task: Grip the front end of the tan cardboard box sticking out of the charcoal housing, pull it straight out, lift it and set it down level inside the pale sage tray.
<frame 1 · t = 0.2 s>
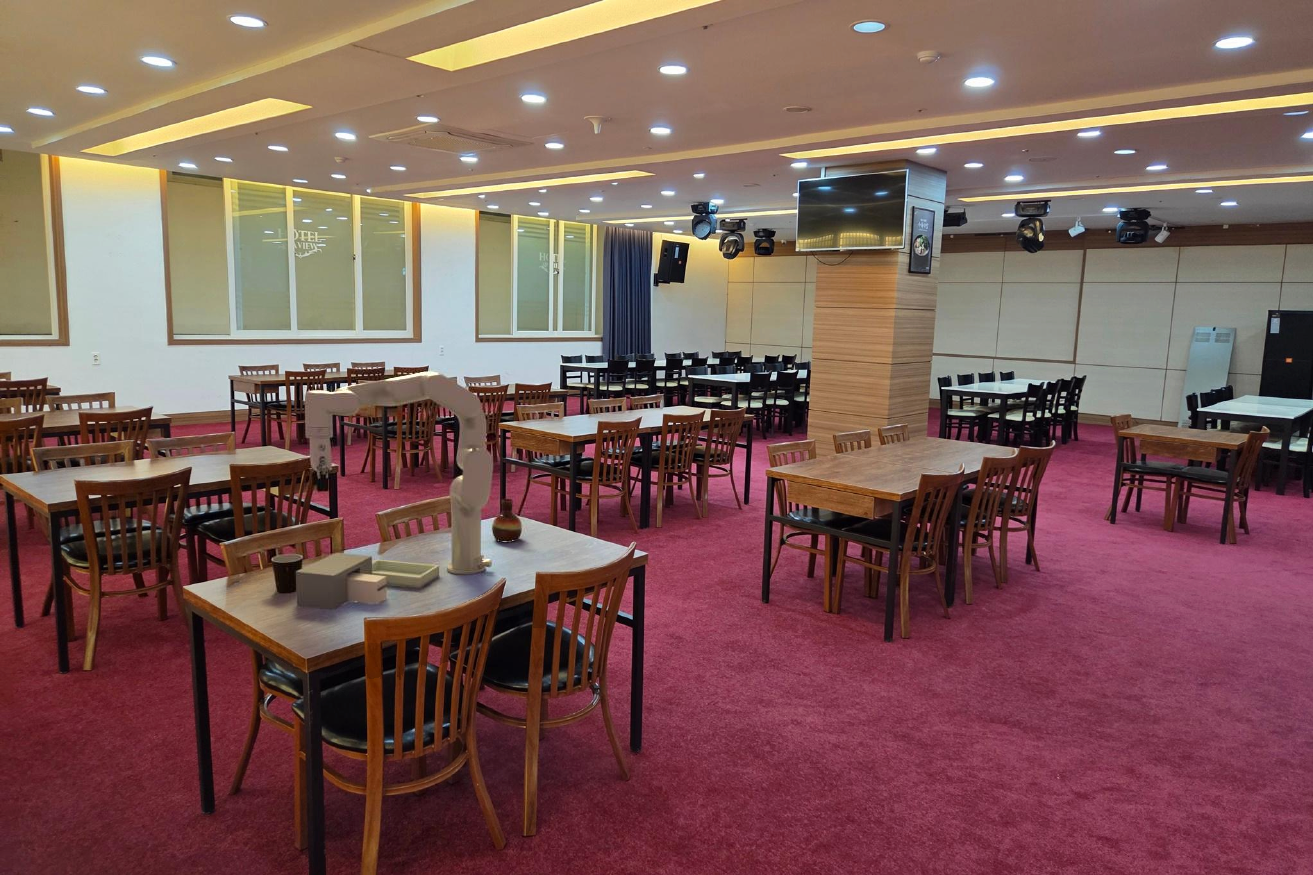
hand: (320, 488, 250), 31 cm above the table, tool pointing down, fingers open, 9 cm apart
tray: (397, 578, 264), on the table
vase: (506, 540, 313), on the table
housing: (335, 596, 246), on the table
coffee mug: (285, 592, 249), on the table
tan cardboard box: (360, 599, 245), on the table
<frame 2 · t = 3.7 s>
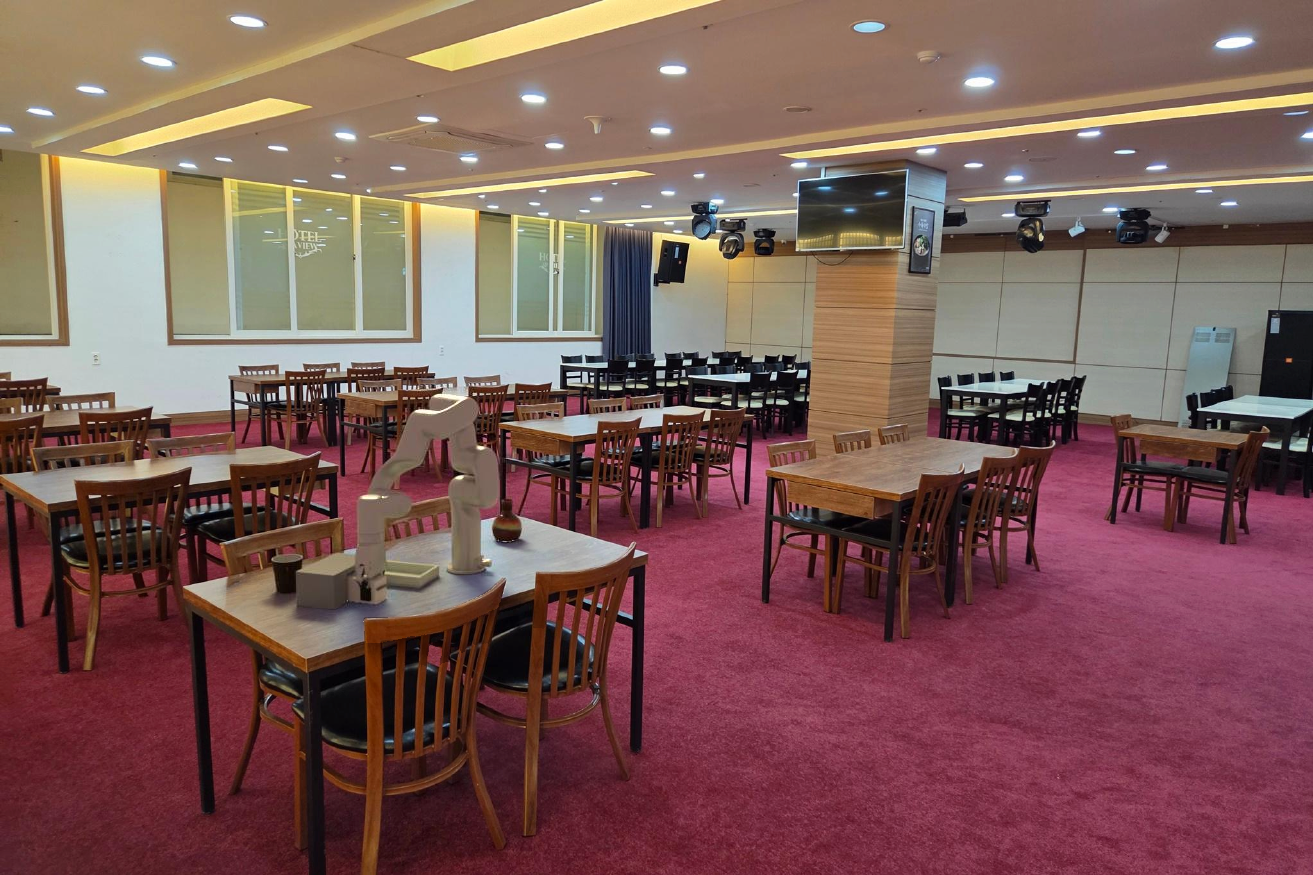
hand: (371, 596, 243), 1 cm above the table, tool pointing down, fingers closed on tan cardboard box, 5 cm apart
tan cardboard box: (360, 598, 245), on the table, touching gripper
everything else where it was.
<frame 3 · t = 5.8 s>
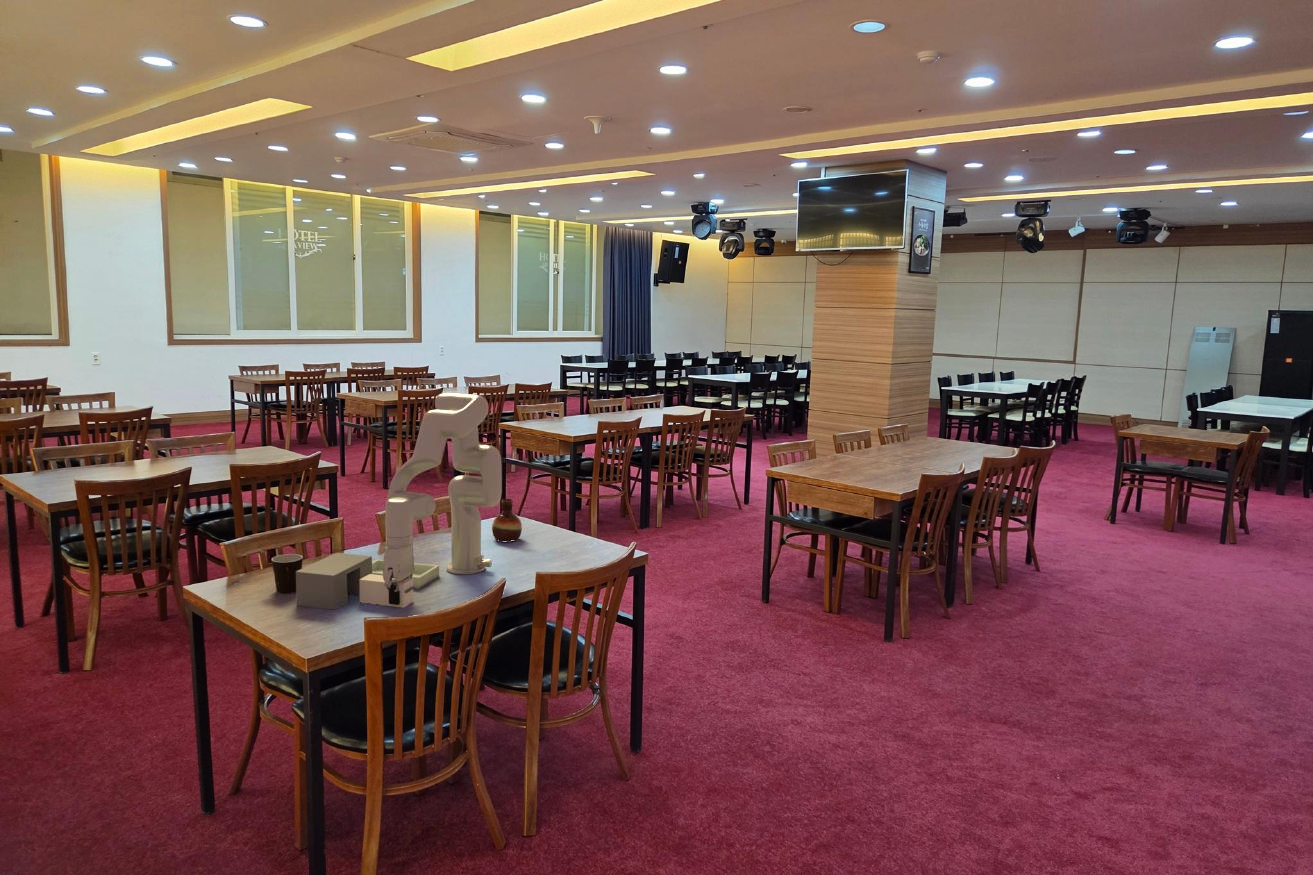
hand: (399, 600, 242), 1 cm above the table, tool pointing down, fingers closed on tan cardboard box, 5 cm apart
tan cardboard box: (386, 602, 243), on the table, touching gripper
everything else where it was.
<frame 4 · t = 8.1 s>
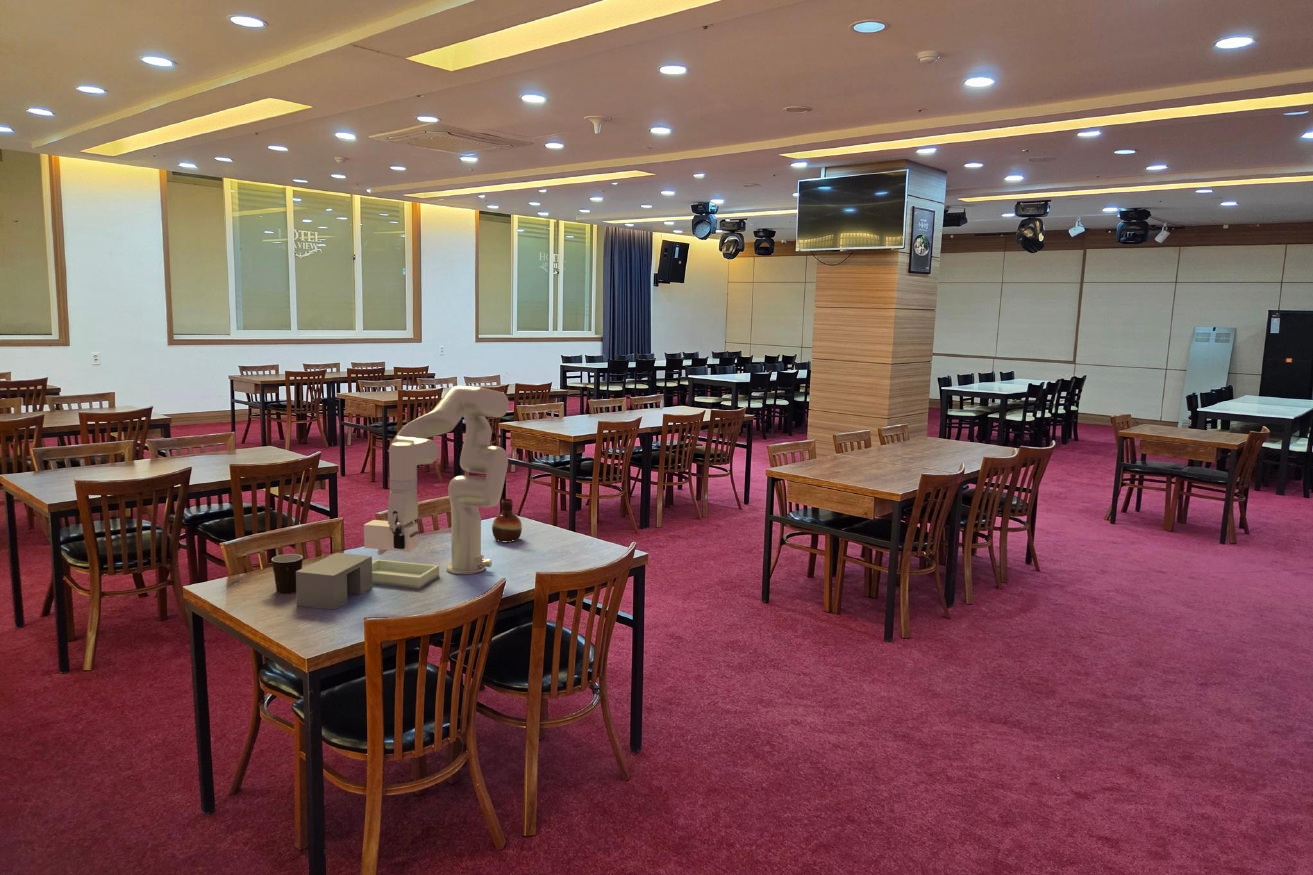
hand: (404, 544, 242), 17 cm above the table, tool pointing down, fingers closed on tan cardboard box, 5 cm apart
tan cardboard box: (391, 547, 243), point 16 cm above the table, touching gripper
everything else where it was.
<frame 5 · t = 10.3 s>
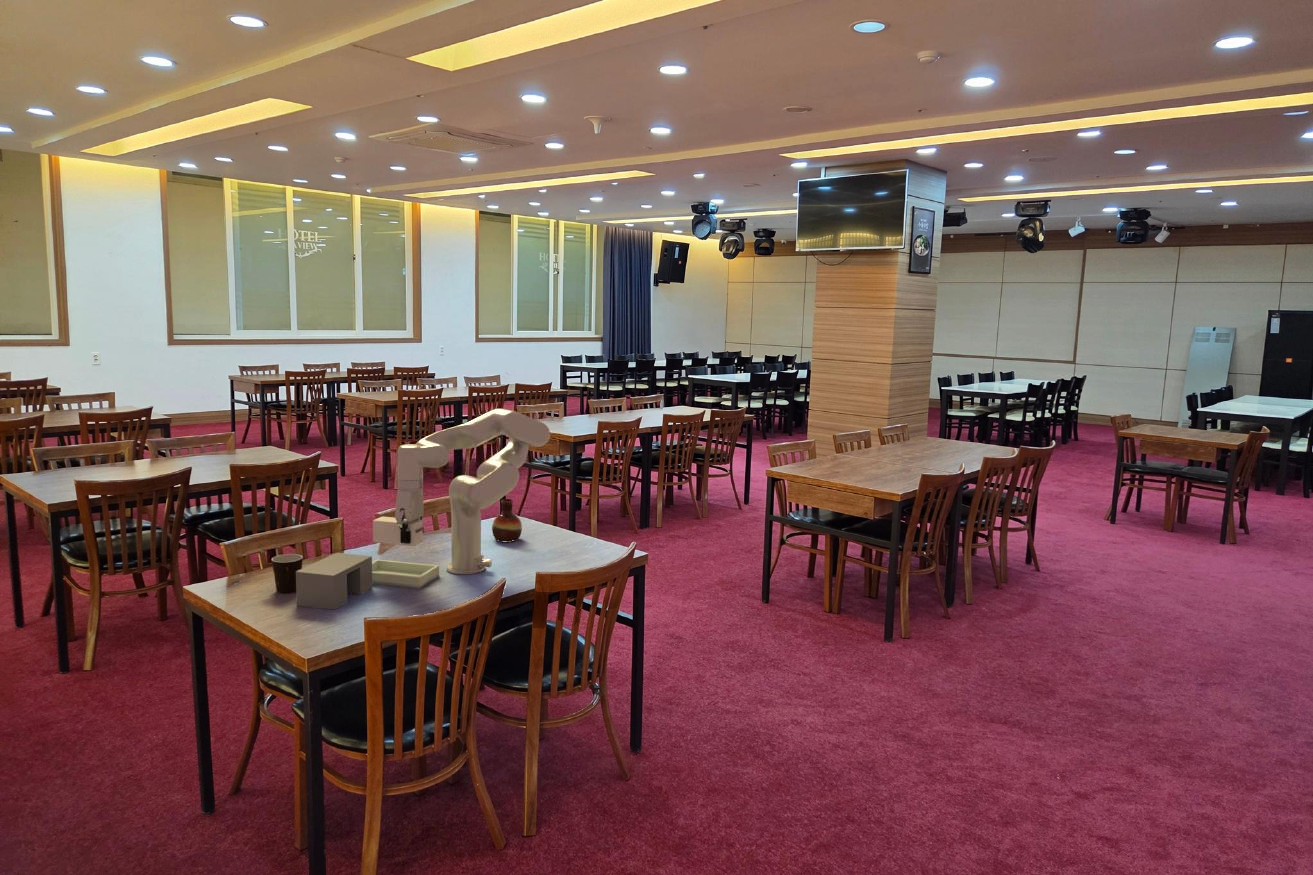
hand: (410, 539, 261), 13 cm above the table, tool pointing down, fingers closed on tan cardboard box, 5 cm apart
tan cardboard box: (398, 541, 262), point 12 cm above the table, touching gripper
everything else where it was.
when the fingers open (3 cm above the table, at t = 12.5 s): tan cardboard box stays where it is, resting on tray.
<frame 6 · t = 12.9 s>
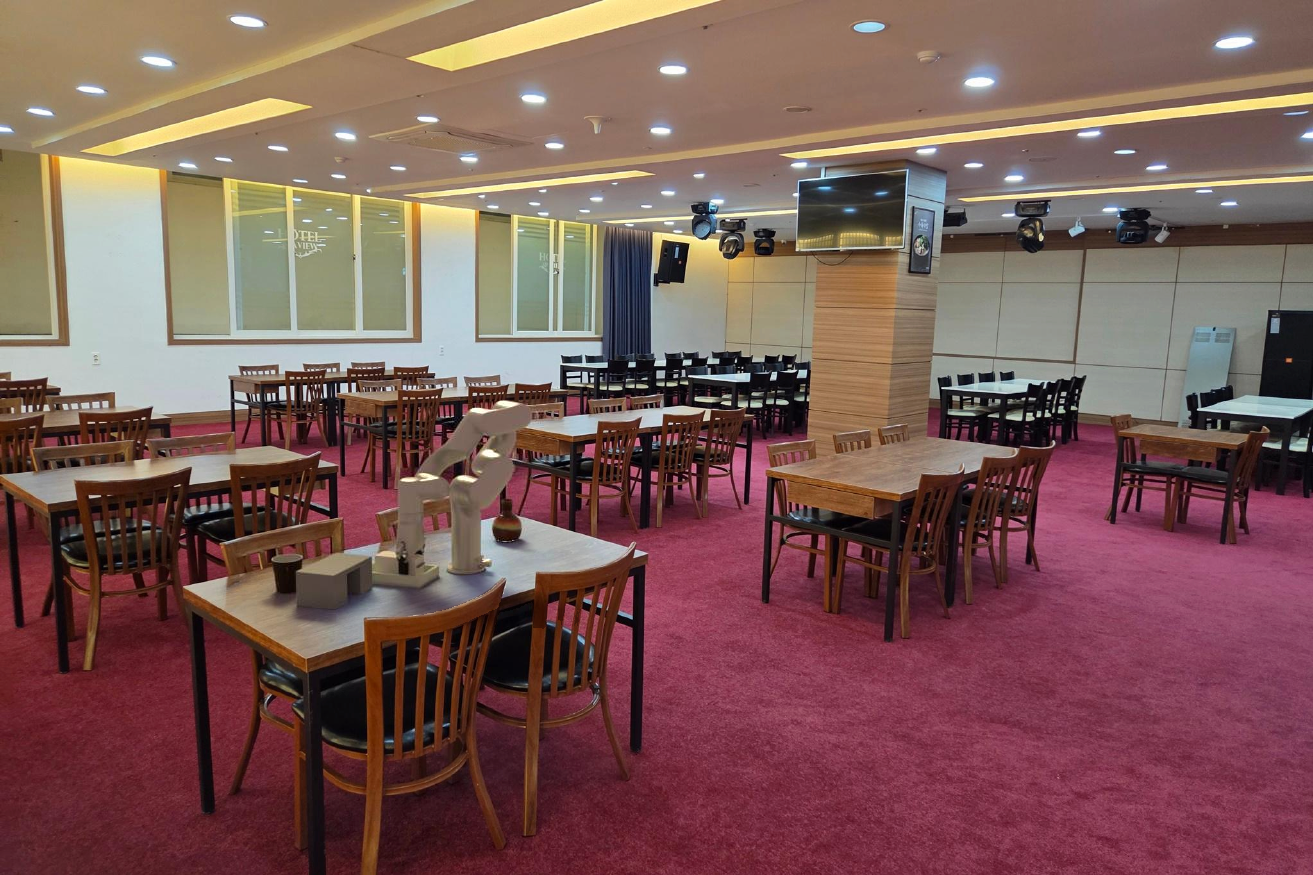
hand: (411, 569, 262), 3 cm above the table, tool pointing down, fingers open, 9 cm apart
tan cardboard box: (399, 576, 264), point 1 cm above the table, touching tray
everything else where it was.
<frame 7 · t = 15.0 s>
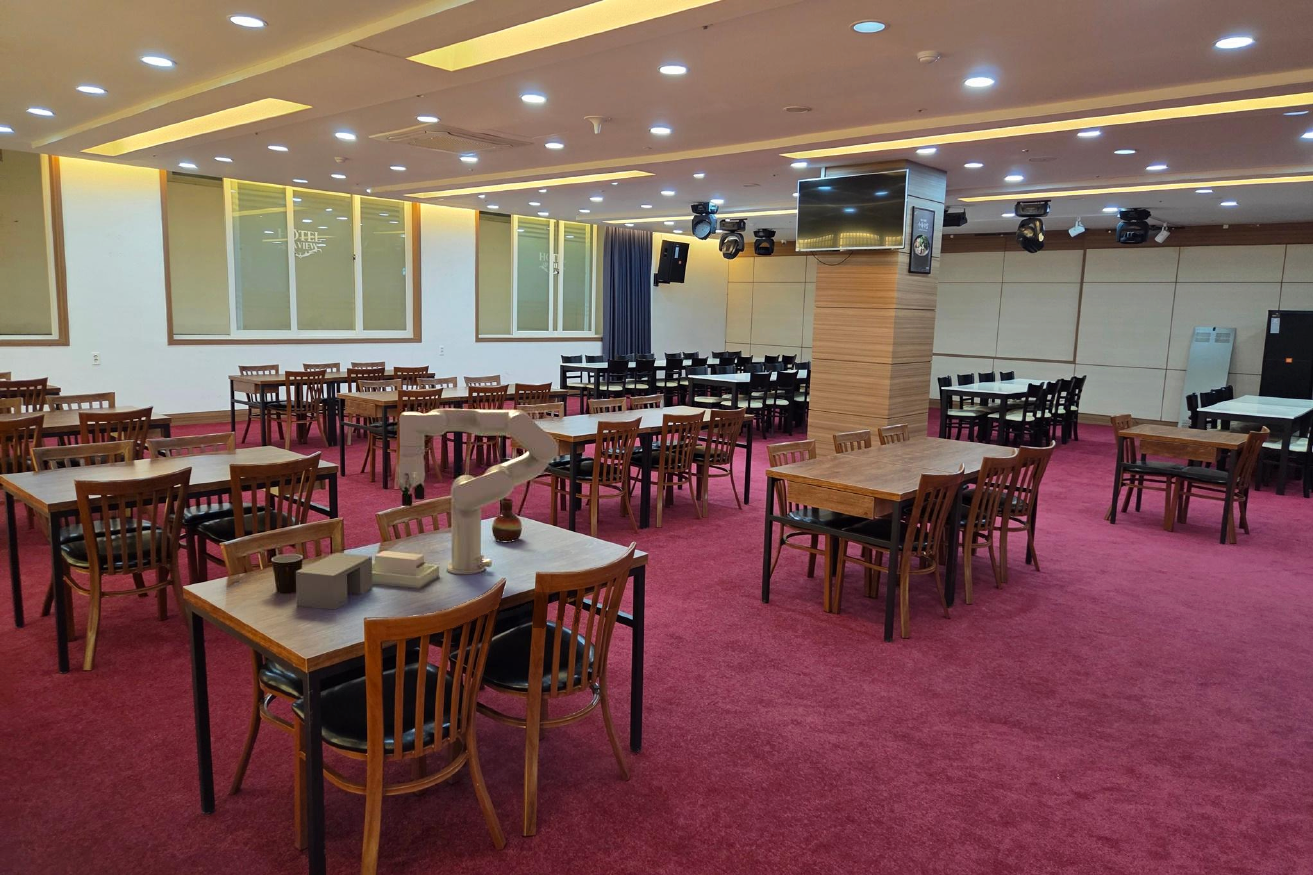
hand: (413, 502, 269), 23 cm above the table, tool pointing down, fingers open, 9 cm apart
nothing on the table moved.
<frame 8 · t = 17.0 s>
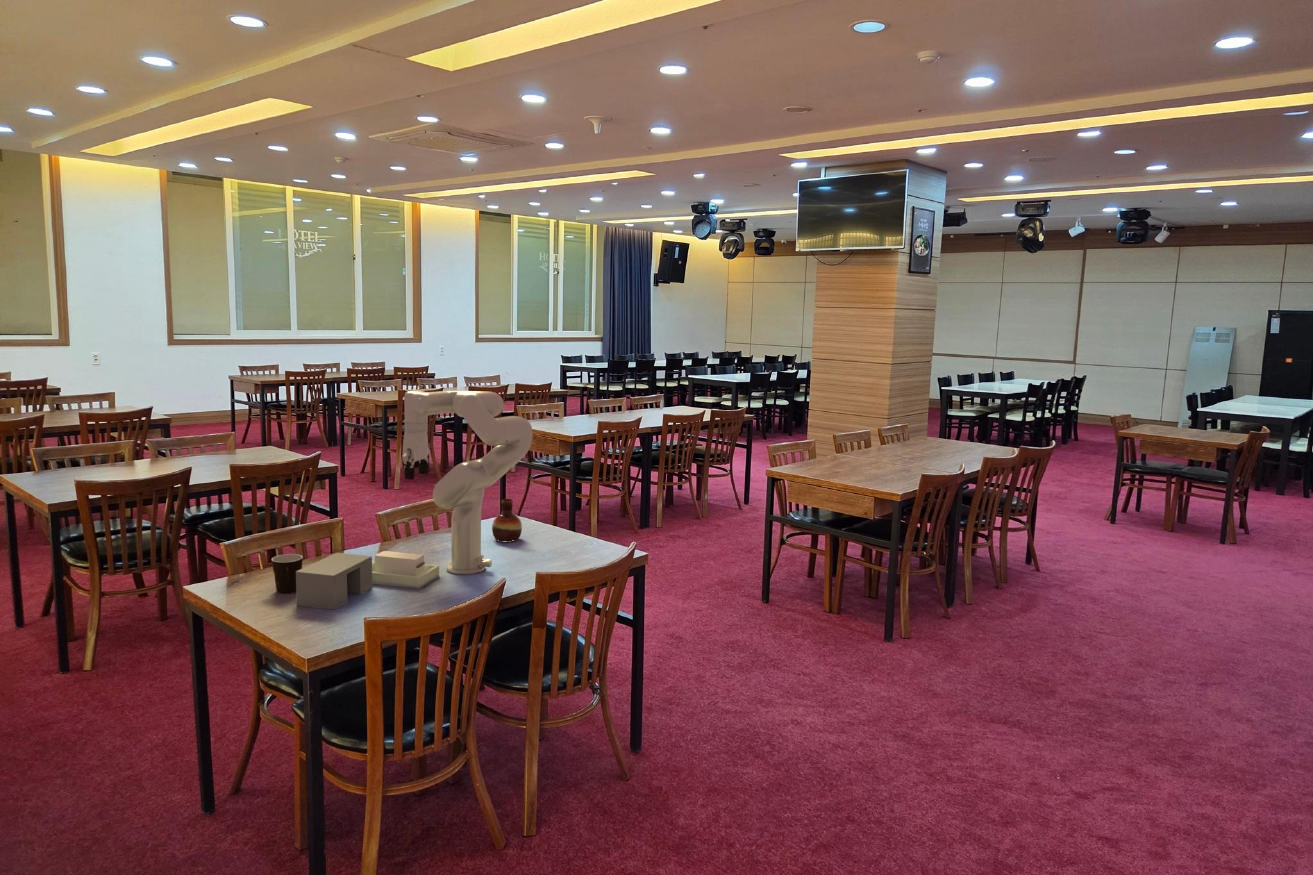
hand: (416, 476, 284), 28 cm above the table, tool pointing down, fingers open, 9 cm apart
nothing on the table moved.
at the end: tan cardboard box inside the target area on the tray (0.6 cm from its centre), point 0.8 cm above the tray's base; tan cardboard box tilted 0°; the gripper is holding nothing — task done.
